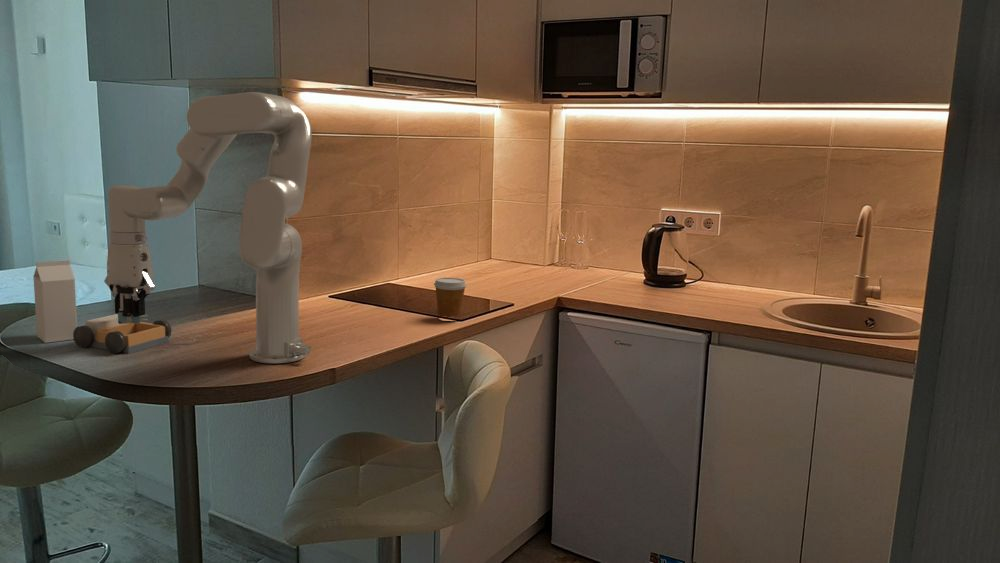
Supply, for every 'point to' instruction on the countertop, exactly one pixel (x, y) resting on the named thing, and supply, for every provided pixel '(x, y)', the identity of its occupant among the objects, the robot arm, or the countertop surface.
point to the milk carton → (55, 301)
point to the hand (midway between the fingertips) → (130, 313)
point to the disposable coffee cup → (449, 296)
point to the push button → (126, 305)
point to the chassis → (121, 334)
